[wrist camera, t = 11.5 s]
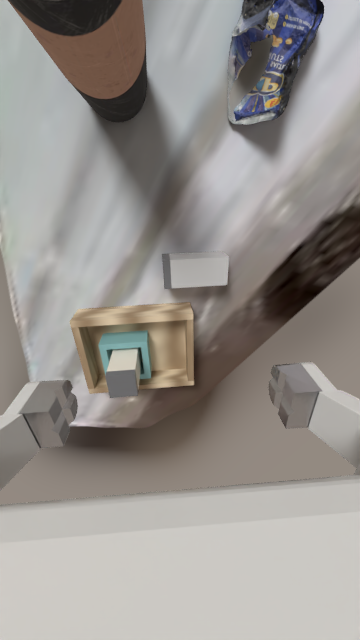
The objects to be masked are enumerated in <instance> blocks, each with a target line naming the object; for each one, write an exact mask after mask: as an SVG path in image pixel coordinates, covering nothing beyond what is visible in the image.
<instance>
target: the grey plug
mask: <svg viewBox="0 0 360 640" xmlns="http://www.w3.org/2000/svg"><path fill="white" fill-rule="evenodd" d="M162 259H163V273H164V288H165V289H170V288H187V287H203V286H220V285H227V280H228V264H229V257H228V256H227V255H226V254H225V253H224V252H223V251H213V252H194V253H174V254H162Z"/></svg>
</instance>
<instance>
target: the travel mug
mask: <svg viewBox="0 0 360 640" xmlns="http://www.w3.org/2000/svg"><path fill="white" fill-rule="evenodd" d="M8 1H9V2H10V4H11V5H12V6H13V8H14V9H15V10H16V12H17V13H18V14H19V16H20V17H21V18H22V20H23V21H24V22H25V24H26V25H27V26H28V28H29V29H30V30H31V32H32V33H33V34H34V36H35V37H36V38H37V40H38V41H39V42H40V44H41V45H42V46H43V48H44V49H45V50H46V52H47V53H48V54H49V56H50V57H51V58H52V60H53V61H54V62H55V64H56V65H57V66H58V68H59V69H60V70H61V72H62V73H63V74H64V76H65V77H66V78H67V79H68V81H69V82H70V83H71V84H72V85H73V86H74V87H75V89H76V90H77V91H78V92H79V93H80V94H81V95H82V97H83V98H84V99H85V100H86V101H87V102H88V103H89V105H90V106H91V107H92V108H93V109H94V110H95V111H96V112H97V113H98V114H99V115H101V116H102V117H104V118H105V119H107V120H110V121H114V122H124V121H127V120H129V119H131V118H133V117H134V116H135V115H136V114H137V113H138V112H139V110H140V109H141V107H142V105H143V103H144V100H145V96H146V88H147V70H146V37H145V25H144V14H143V4H142V0H8Z"/></svg>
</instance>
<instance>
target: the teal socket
mask: <svg viewBox="0 0 360 640" xmlns="http://www.w3.org/2000/svg"><path fill="white" fill-rule="evenodd" d="M138 347H141V351H142V359H143V362H141V370H140V379H148V378H151V367H152V365H151V356H150V347H149V338H148V330H144V331H130V332H115V333H103V335H102V337H101V340H100V342H99V350H100V354H101V358H102V363H103V367H104V371H105V375H106V372H107V368H108V365H109V362H110V358H111V355H112V351H113V350H112V349H124V348H138Z"/></svg>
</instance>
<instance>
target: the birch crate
mask: <svg viewBox="0 0 360 640" xmlns="http://www.w3.org/2000/svg"><path fill="white" fill-rule="evenodd" d="M70 325H71V328H72V332H73V336H74V339H75V343H76V346H77V350H78V354H79V357H80V361H81V364H82V368H83V371H84V375H85V379H86V382H87V386H88V389H89V393H90V394H92V393H104V392H109V391H108V387H107V382H106V378H105V371H104V367H103V363H102V358H101V354H100V350H99V342H100V340H101V337H102V335H103V333H115V332H130V331H144V330H148V338H149V347H150V356H151V365H152V367H151V378H148V379H140V380H139V389H138V390H140V389H152V388H164V387H177V386H189V385H194V343H193V311H192V308H191V304H190V302H184V303H169V304H153V305H137V306H121V307H105V308H89V309H78V310H77V312H76V313H75V315H74V316H73V318H72V319H71V320H70ZM112 350H113V349H112ZM140 350H141V347H140ZM141 357H142V351H141ZM141 362H143V359H142V360H141Z"/></svg>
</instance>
